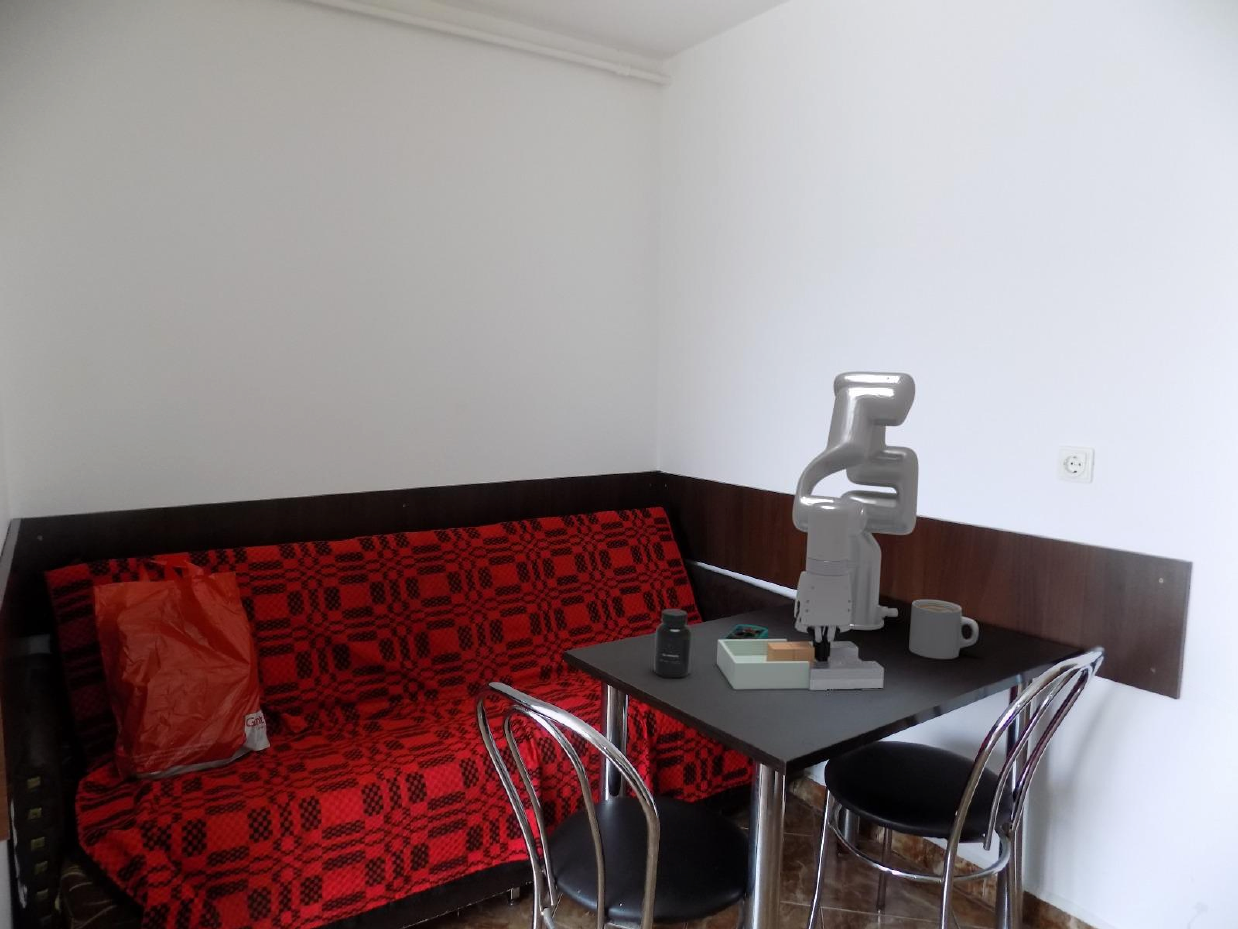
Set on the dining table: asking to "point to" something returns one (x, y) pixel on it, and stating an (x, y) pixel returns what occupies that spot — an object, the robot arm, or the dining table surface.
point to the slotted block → (844, 670)
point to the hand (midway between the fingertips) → (820, 660)
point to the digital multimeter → (747, 632)
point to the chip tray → (759, 666)
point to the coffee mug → (939, 629)
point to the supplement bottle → (672, 645)
